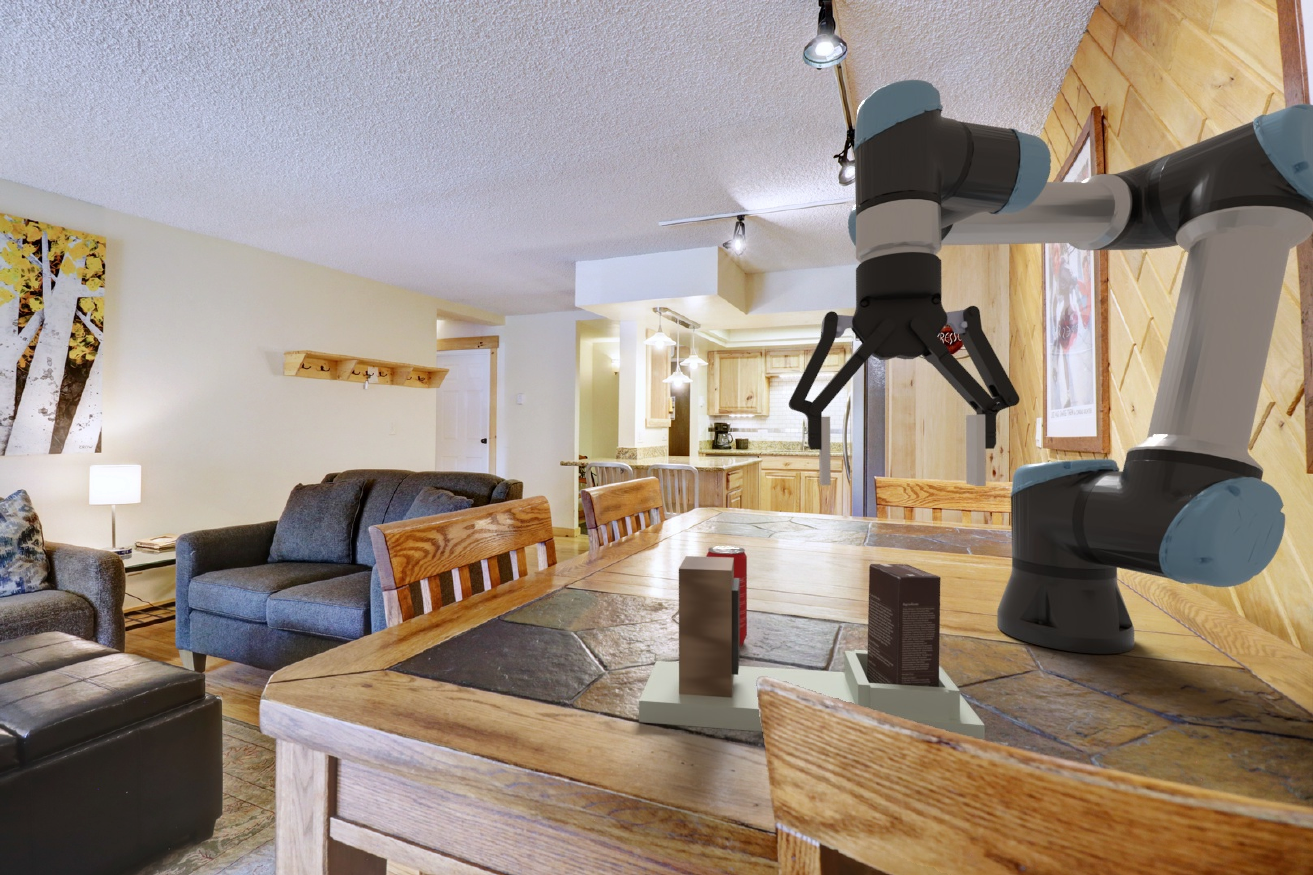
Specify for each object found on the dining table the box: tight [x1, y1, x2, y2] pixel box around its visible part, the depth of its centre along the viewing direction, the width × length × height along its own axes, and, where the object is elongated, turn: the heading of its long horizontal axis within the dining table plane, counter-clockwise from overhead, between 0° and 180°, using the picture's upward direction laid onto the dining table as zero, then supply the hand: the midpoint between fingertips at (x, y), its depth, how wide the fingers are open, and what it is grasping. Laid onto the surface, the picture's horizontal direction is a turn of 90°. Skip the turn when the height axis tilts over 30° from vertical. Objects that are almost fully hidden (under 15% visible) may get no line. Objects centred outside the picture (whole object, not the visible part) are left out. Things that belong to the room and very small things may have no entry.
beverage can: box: [705, 545, 748, 647], centre depth 78 cm, size 5×5×12 cm
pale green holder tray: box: [638, 649, 986, 741], centre depth 59 cm, size 30×10×4 cm, turn 81°
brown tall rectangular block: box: [678, 555, 741, 698], centre depth 60 cm, size 6×6×12 cm
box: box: [867, 563, 942, 687], centre depth 57 cm, size 6×4×12 cm
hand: (898, 485), depth 58 cm, fingers open, 13 cm apart
